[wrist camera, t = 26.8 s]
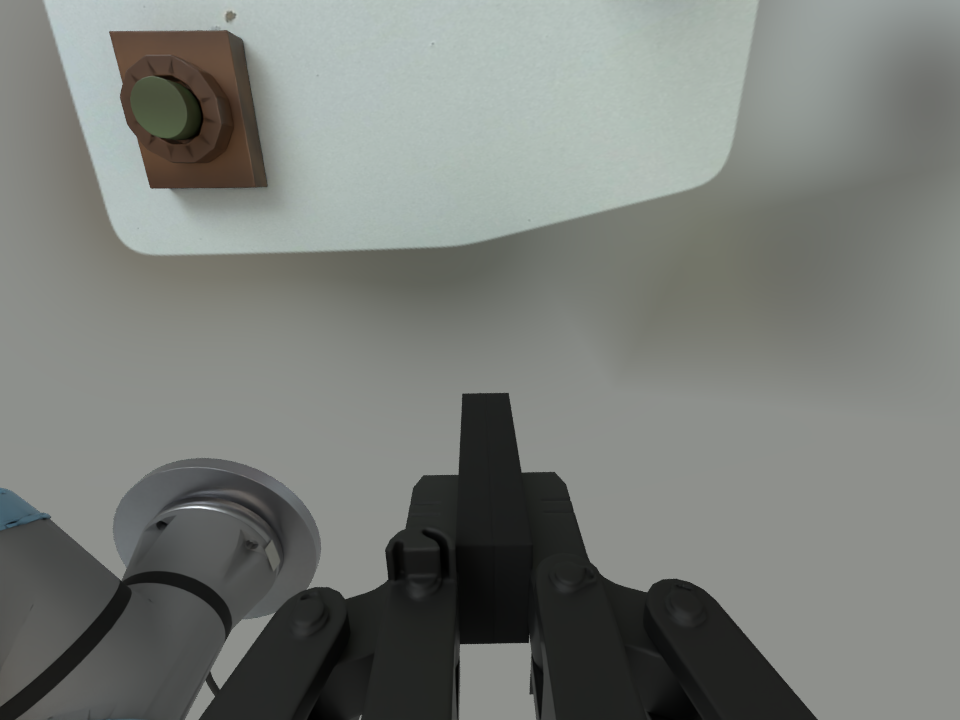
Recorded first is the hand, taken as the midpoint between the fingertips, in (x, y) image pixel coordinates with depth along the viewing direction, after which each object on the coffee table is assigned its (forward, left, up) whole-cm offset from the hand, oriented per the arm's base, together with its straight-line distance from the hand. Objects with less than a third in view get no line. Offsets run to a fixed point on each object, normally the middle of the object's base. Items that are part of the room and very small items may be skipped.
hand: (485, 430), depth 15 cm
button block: (+6, +24, -26) cm, 36 cm away
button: (+6, +23, -23) cm, 33 cm away
